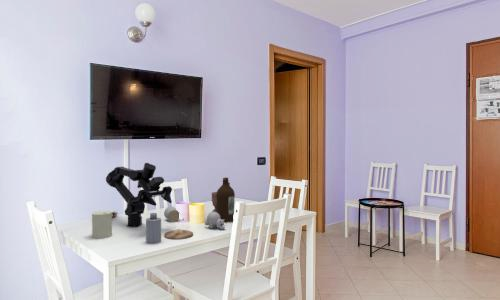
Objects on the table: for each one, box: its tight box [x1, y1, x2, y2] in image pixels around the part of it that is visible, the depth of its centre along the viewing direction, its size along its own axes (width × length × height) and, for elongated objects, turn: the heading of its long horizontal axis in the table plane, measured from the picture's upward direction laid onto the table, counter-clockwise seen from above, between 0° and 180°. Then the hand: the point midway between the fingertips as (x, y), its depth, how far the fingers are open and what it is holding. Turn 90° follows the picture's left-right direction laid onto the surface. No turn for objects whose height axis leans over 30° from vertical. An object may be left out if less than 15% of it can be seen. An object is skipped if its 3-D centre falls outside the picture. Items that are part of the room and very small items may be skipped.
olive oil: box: [216, 177, 236, 223], centre depth 210 cm, size 11×11×25 cm
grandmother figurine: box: [112, 210, 119, 218], centre depth 214 cm, size 8×4×13 cm
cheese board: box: [163, 228, 194, 240], centre depth 178 cm, size 14×14×4 cm
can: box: [91, 210, 113, 239], centre depth 176 cm, size 9×9×12 cm
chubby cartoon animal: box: [204, 211, 226, 230], centre depth 192 cm, size 7×12×8 cm, turn 54°
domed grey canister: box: [145, 212, 162, 244], centre depth 168 cm, size 7×7×13 cm
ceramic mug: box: [163, 206, 180, 223], centre depth 210 cm, size 11×8×8 cm
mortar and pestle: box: [211, 181, 231, 212], centre depth 230 cm, size 12×9×20 cm
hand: (163, 203), depth 180 cm, fingers open, 9 cm apart
